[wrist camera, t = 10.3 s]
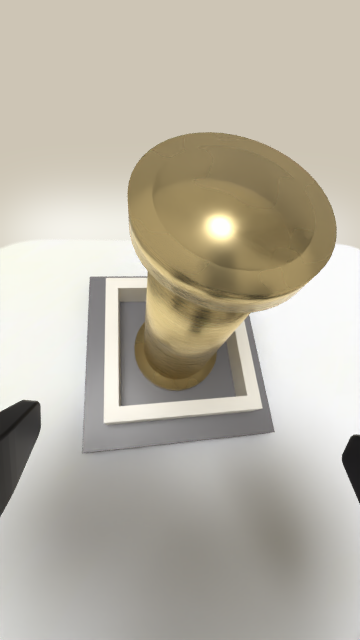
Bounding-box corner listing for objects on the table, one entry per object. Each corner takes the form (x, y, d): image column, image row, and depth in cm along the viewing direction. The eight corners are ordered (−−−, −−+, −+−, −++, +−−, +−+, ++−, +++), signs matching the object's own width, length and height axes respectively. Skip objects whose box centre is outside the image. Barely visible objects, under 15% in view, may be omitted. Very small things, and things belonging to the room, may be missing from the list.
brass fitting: (228, 370, 19) (378, 252, 7) (154, 405, 17) (190, 330, 5) (192, 304, 20) (263, 121, 9) (122, 330, 19) (95, 149, 7)
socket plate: (236, 282, 23) (249, 261, 20) (267, 432, 18) (290, 430, 16) (91, 283, 21) (85, 260, 18) (85, 452, 16) (74, 455, 14)
